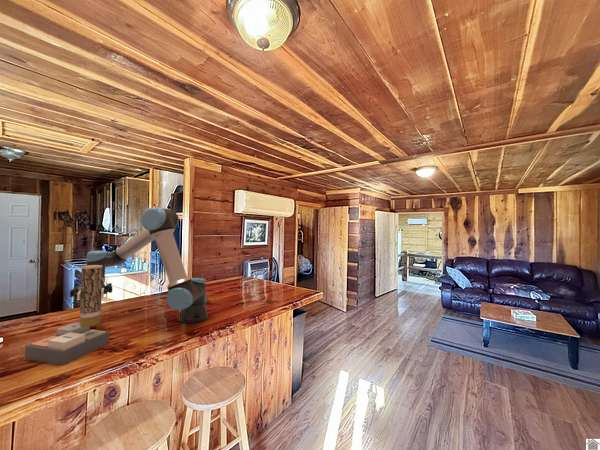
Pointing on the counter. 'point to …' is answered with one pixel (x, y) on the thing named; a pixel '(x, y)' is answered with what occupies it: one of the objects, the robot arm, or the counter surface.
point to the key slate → (72, 329)
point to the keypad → (65, 351)
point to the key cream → (66, 341)
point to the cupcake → (206, 296)
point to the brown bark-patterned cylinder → (91, 295)
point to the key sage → (93, 334)
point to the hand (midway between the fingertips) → (90, 295)
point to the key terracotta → (43, 342)
